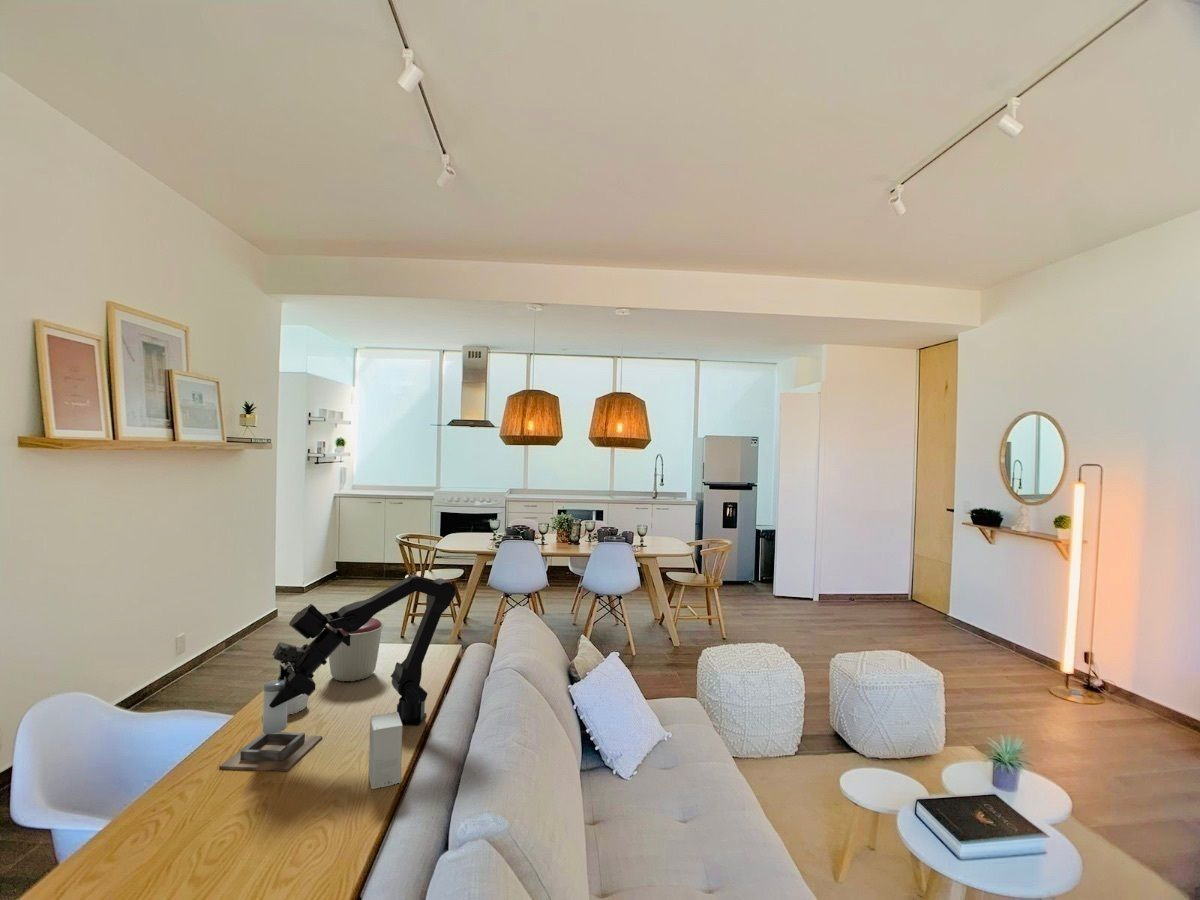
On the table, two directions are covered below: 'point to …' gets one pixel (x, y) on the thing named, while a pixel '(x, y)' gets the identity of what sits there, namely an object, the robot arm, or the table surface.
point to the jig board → (272, 752)
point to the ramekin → (297, 704)
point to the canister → (357, 653)
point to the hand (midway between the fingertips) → (269, 702)
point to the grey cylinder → (273, 716)
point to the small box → (385, 750)
